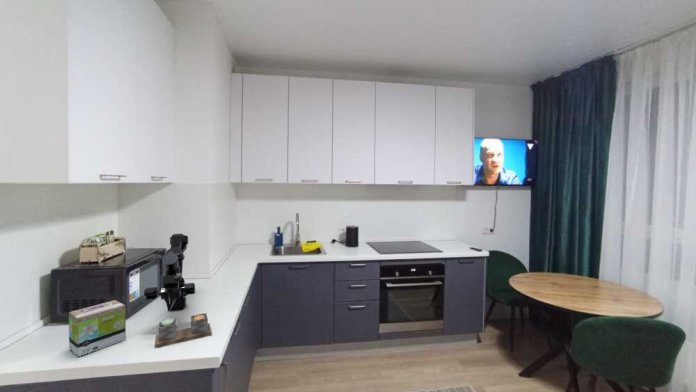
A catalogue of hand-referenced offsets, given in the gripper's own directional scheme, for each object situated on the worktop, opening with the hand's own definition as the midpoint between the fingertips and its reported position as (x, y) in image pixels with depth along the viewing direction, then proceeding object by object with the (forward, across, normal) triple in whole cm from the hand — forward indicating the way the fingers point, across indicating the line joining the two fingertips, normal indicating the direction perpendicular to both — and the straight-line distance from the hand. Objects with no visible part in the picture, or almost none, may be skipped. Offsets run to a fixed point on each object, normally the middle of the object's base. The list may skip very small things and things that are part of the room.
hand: (169, 310), depth 124 cm
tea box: (+6, -24, +9) cm, 27 cm away
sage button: (+6, 0, 0) cm, 6 cm away
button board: (+10, +6, +5) cm, 13 cm away
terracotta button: (+6, +11, +2) cm, 13 cm away
